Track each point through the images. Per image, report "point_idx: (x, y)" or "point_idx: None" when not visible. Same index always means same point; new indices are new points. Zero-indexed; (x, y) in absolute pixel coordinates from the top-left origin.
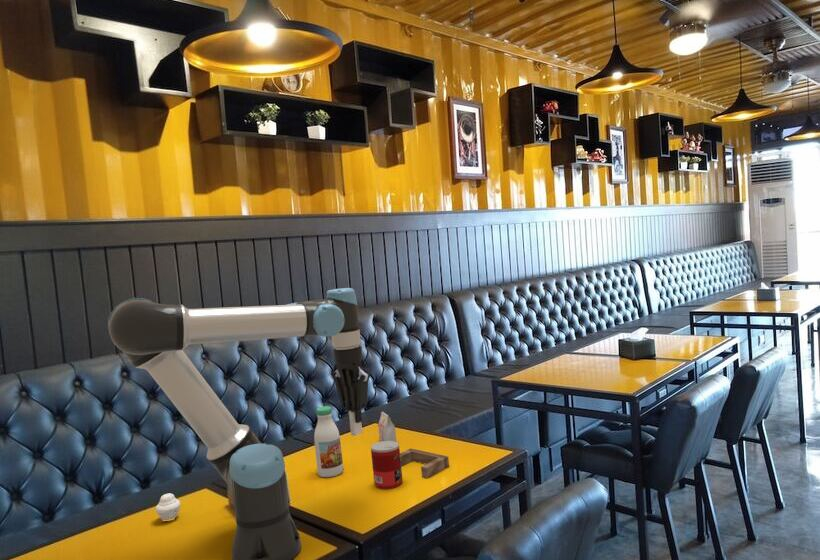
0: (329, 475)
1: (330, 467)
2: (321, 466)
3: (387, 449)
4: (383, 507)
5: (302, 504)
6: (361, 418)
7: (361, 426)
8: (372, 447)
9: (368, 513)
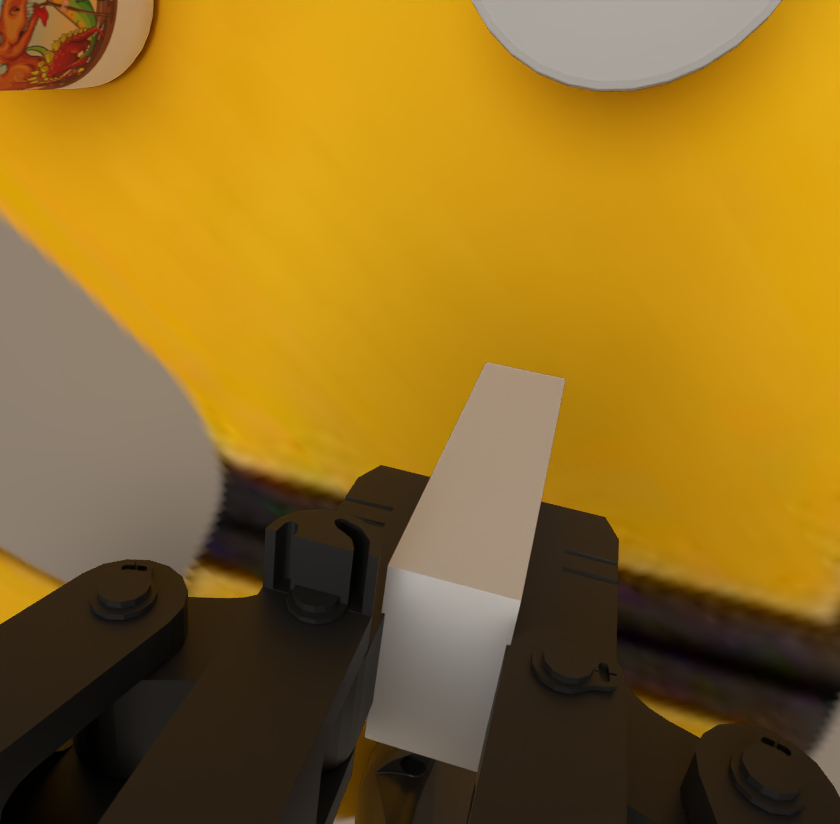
0: (126, 66)
1: (97, 55)
2: (40, 89)
3: (752, 21)
4: (800, 338)
5: (286, 441)
6: (616, 570)
7: (556, 422)
8: (509, 24)
9: (738, 432)
